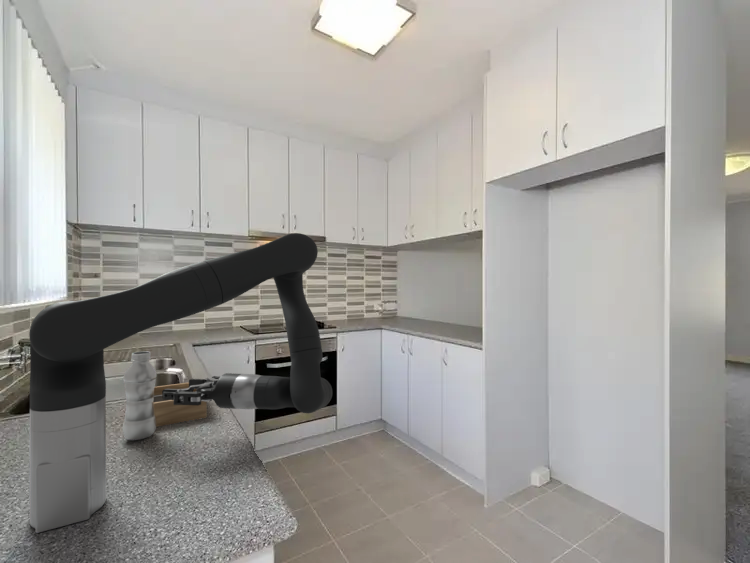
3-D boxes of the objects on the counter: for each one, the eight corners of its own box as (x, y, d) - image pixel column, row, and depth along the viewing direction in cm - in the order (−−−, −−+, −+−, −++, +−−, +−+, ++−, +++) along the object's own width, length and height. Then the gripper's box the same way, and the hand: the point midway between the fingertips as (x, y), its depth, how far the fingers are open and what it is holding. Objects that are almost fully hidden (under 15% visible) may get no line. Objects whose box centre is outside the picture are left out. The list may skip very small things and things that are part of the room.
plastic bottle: (159, 437, 85) (162, 353, 85) (125, 447, 80) (128, 356, 80) (151, 429, 89) (153, 349, 89) (118, 437, 84) (120, 352, 84)
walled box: (206, 417, 97) (206, 395, 97) (126, 432, 88) (125, 407, 88) (200, 400, 113) (200, 380, 113) (131, 410, 103) (131, 389, 103)
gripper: (257, 367, 87) (197, 365, 90) (223, 382, 73) (153, 380, 76) (257, 398, 87) (197, 395, 90) (223, 419, 73) (153, 415, 76)
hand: (177, 388), depth 83 cm, fingers open, 8 cm apart
